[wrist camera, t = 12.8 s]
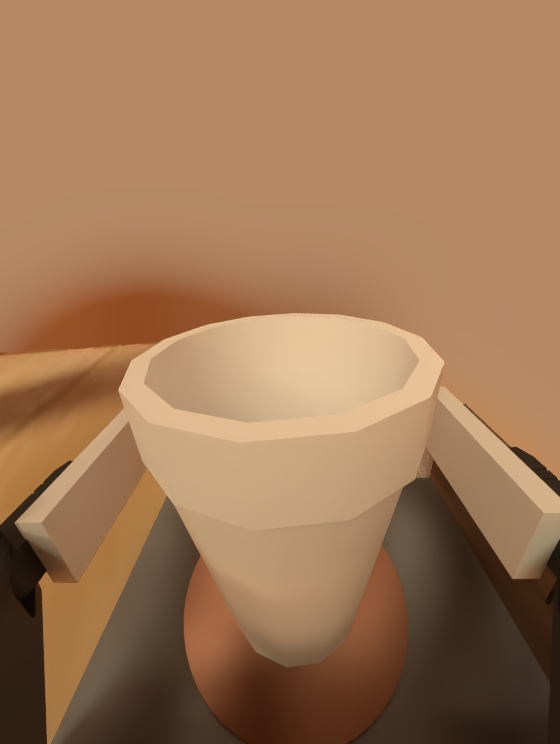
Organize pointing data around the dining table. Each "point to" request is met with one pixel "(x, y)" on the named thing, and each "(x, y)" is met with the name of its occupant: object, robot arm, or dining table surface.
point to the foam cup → (286, 460)
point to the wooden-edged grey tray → (344, 665)
